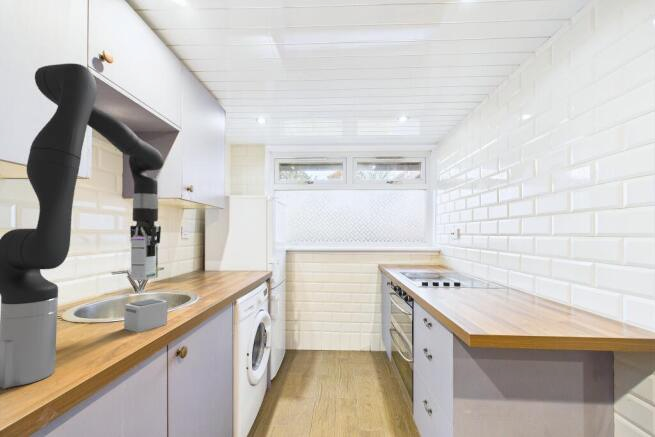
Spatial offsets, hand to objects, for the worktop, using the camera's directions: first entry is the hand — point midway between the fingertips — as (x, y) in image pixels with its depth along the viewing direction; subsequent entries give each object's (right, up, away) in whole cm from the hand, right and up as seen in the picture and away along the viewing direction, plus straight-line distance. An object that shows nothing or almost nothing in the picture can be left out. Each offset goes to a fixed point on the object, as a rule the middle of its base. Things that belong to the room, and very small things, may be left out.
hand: (144, 255), depth 105 cm
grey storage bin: (+1, -24, -1) cm, 24 cm away
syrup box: (0, -8, 0) cm, 8 cm away
